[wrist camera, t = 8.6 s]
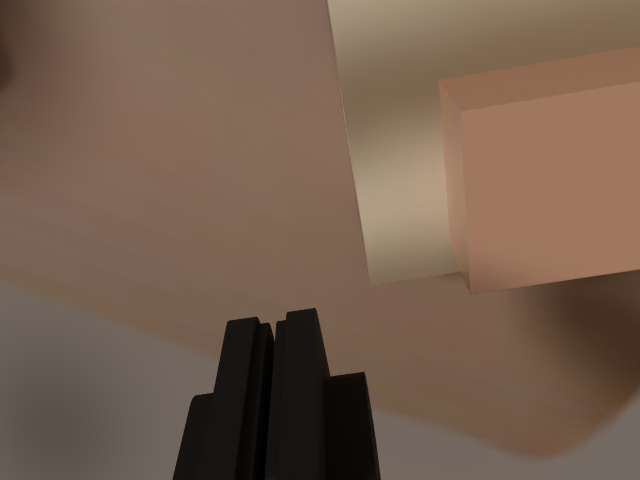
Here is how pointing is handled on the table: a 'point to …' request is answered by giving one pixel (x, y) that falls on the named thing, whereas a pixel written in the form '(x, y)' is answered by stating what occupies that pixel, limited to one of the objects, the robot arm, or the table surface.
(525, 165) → the tile
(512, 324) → the table surface
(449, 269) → the board
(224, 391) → the robot arm
